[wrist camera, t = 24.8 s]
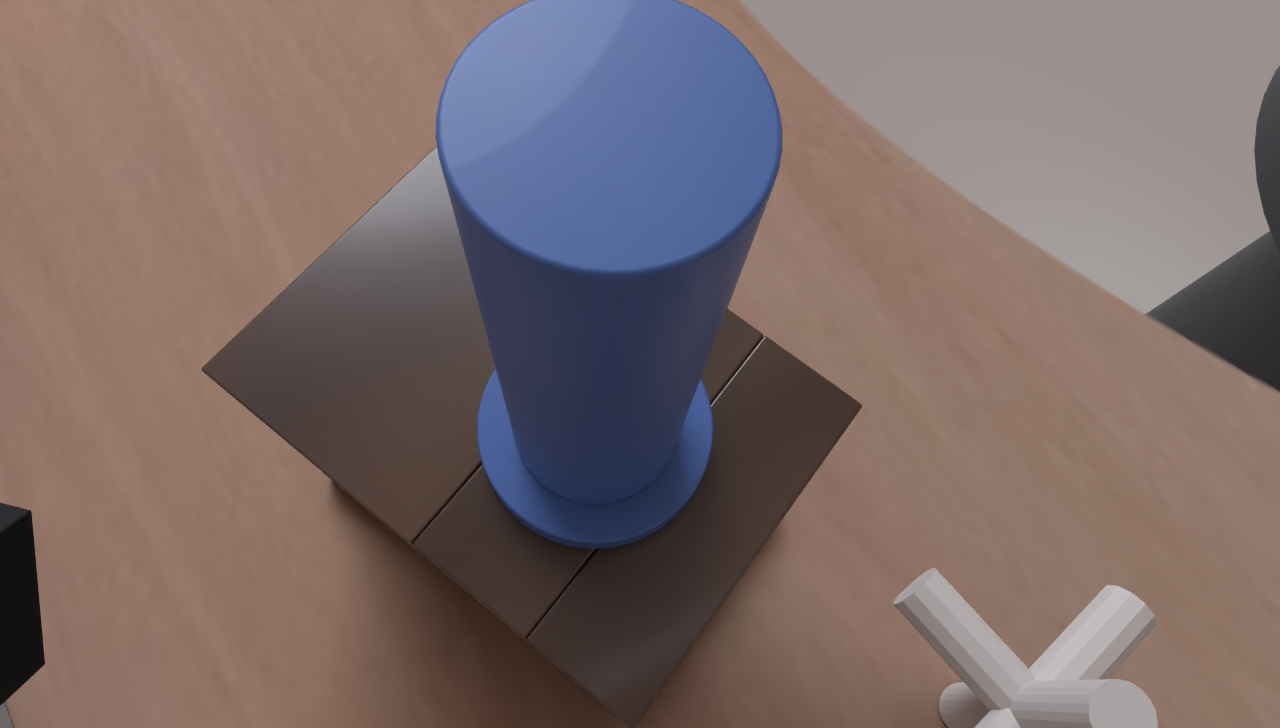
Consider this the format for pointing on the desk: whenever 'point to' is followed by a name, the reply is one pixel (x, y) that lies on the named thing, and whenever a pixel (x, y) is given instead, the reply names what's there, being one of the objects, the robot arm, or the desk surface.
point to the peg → (603, 248)
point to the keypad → (4, 717)
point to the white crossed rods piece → (1058, 680)
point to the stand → (451, 464)
